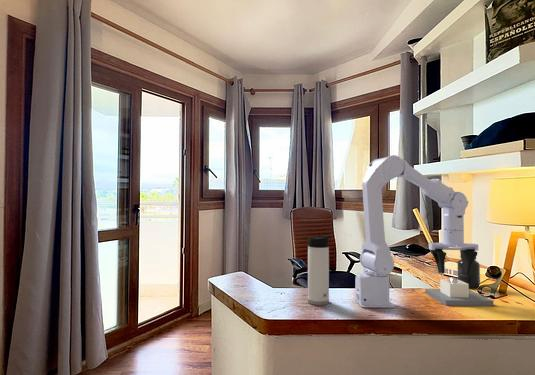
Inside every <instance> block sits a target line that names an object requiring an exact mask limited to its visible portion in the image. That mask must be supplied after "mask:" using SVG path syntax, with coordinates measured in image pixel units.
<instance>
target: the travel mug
mask: <svg viewBox="0 0 535 375" xmlns="http://www.w3.org/2000/svg"><path fill="white" fill-rule="evenodd" d="M330 238H331V236H330V235H329V234H326V235H316V236H312V237H311V236H310V237H308V239H307V240H308V241H307V243H308V244H307V302H308V303H309V304H311V305H314V306H326V305H329V302H330V301H329V300H330V297H329V296H330V293H329V292H330V289H329V287H330V250H329V248H330V246H329V239H330Z"/></svg>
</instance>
